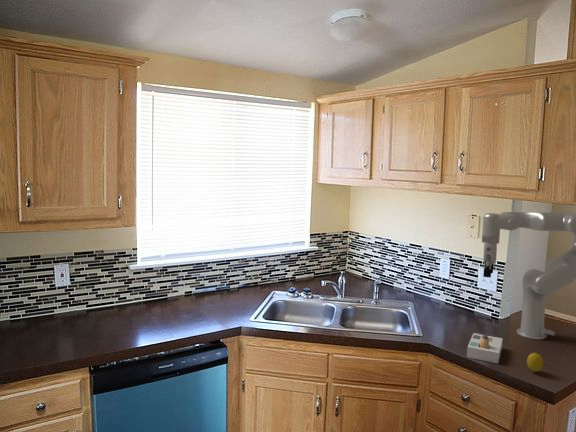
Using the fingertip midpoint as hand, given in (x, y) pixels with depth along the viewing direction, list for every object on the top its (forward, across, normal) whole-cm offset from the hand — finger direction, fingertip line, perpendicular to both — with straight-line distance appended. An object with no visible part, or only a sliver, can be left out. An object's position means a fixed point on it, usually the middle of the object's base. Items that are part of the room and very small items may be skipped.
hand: (488, 274), depth 217 cm
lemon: (+28, -36, -22) cm, 51 cm away
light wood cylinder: (+28, -30, -3) cm, 42 cm away
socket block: (+28, -26, -3) cm, 39 cm away
